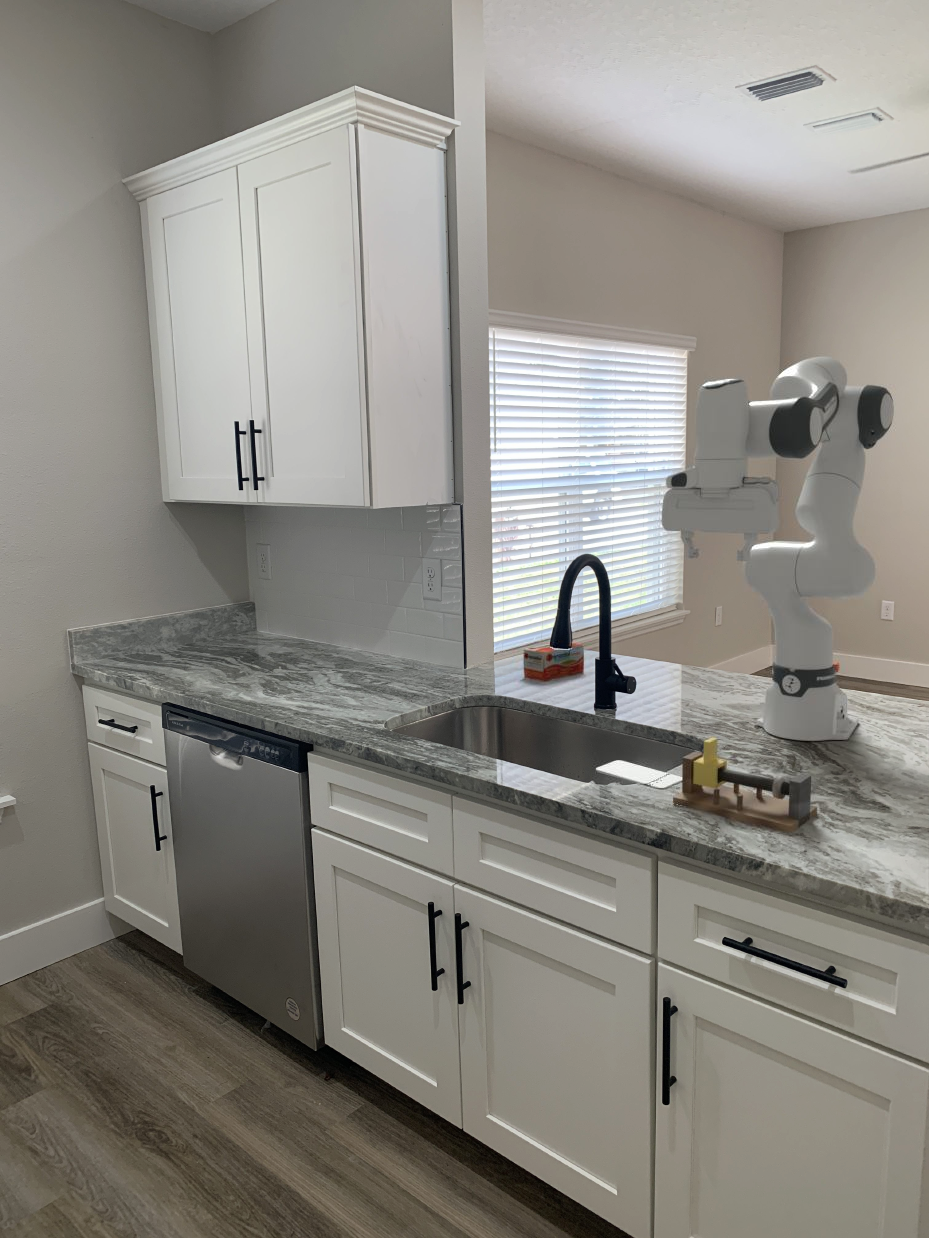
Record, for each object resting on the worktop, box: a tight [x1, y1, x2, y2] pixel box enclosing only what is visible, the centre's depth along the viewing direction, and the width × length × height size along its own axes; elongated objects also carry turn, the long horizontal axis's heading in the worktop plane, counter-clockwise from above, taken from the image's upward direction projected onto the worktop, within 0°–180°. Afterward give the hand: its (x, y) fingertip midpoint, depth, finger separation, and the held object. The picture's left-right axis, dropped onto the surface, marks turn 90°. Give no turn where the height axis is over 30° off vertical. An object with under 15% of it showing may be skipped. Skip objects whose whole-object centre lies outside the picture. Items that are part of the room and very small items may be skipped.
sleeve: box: [693, 737, 728, 789], centre depth 155 cm, size 4×4×7 cm
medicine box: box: [523, 642, 585, 683], centre depth 249 cm, size 15×8×8 cm, turn 130°
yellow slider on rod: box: [672, 751, 818, 834], centre depth 152 cm, size 20×10×7 cm, turn 48°
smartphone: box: [595, 759, 682, 789], centre depth 170 cm, size 7×1×15 cm
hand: (717, 559), depth 160 cm, fingers open, 8 cm apart
